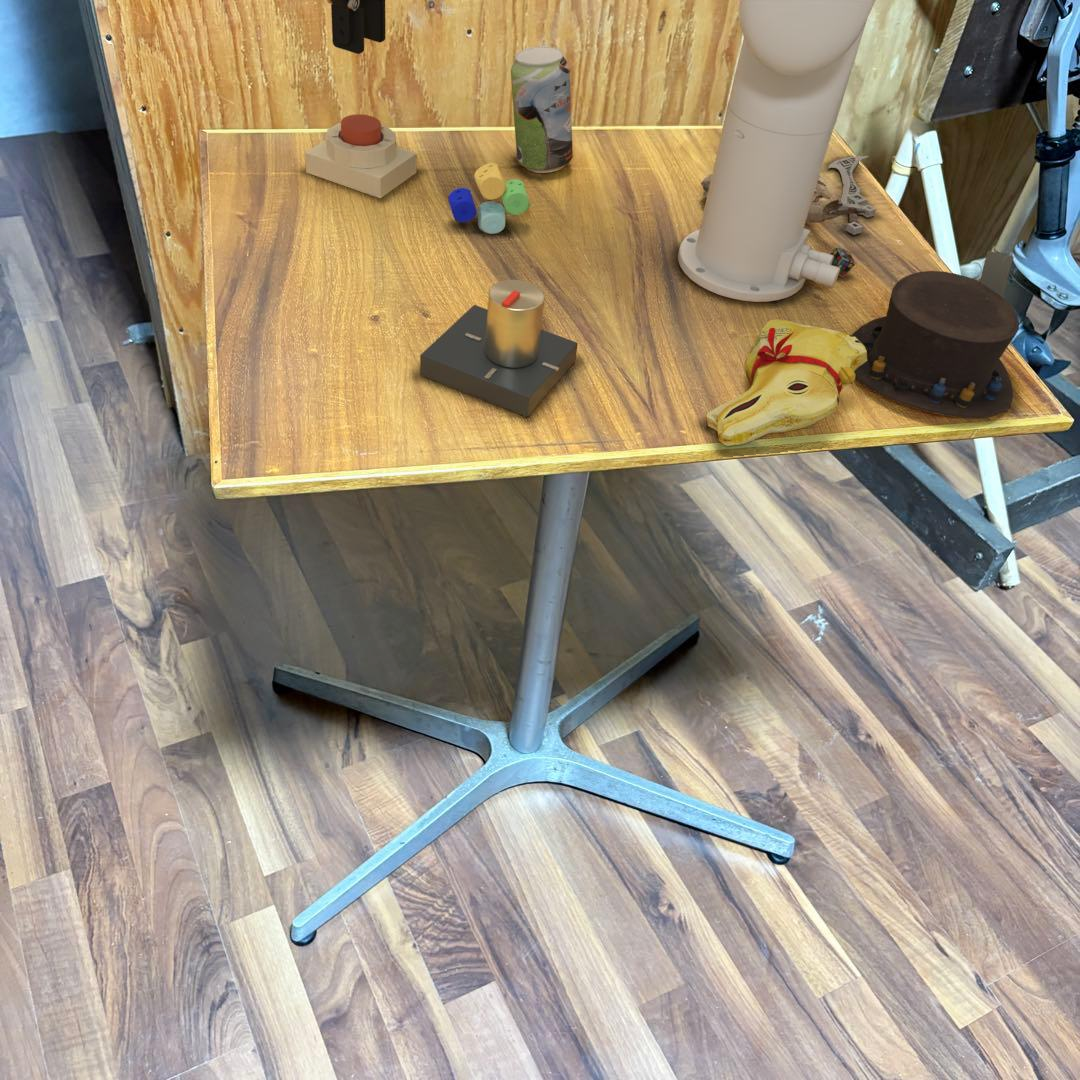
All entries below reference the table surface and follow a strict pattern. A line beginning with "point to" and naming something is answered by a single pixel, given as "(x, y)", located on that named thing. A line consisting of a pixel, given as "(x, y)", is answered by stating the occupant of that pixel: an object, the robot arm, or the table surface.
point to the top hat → (944, 343)
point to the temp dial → (514, 323)
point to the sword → (852, 193)
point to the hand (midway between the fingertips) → (359, 42)
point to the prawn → (822, 213)
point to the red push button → (360, 130)
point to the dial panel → (495, 365)
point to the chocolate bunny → (789, 381)
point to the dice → (490, 188)
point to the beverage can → (542, 109)
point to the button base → (362, 162)
